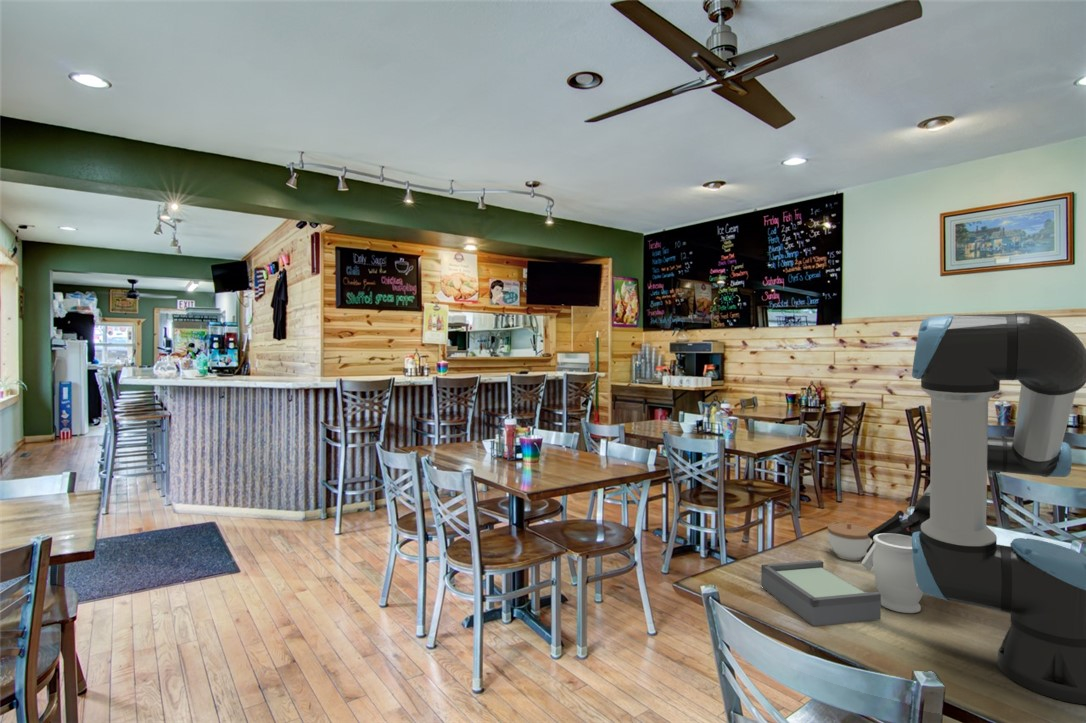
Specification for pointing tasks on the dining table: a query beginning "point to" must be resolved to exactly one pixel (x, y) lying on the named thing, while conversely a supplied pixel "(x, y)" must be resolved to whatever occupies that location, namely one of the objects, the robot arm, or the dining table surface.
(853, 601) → the tray
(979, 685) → the dining table surface
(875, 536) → the jar
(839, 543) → the lidded jar
